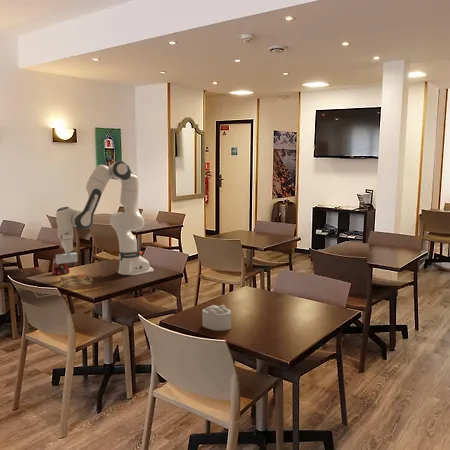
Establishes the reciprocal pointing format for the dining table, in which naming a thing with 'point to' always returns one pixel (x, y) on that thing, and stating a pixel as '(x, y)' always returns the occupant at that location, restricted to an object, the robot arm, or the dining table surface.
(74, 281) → the jig
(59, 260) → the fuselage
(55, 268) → the toy fire truck
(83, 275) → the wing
